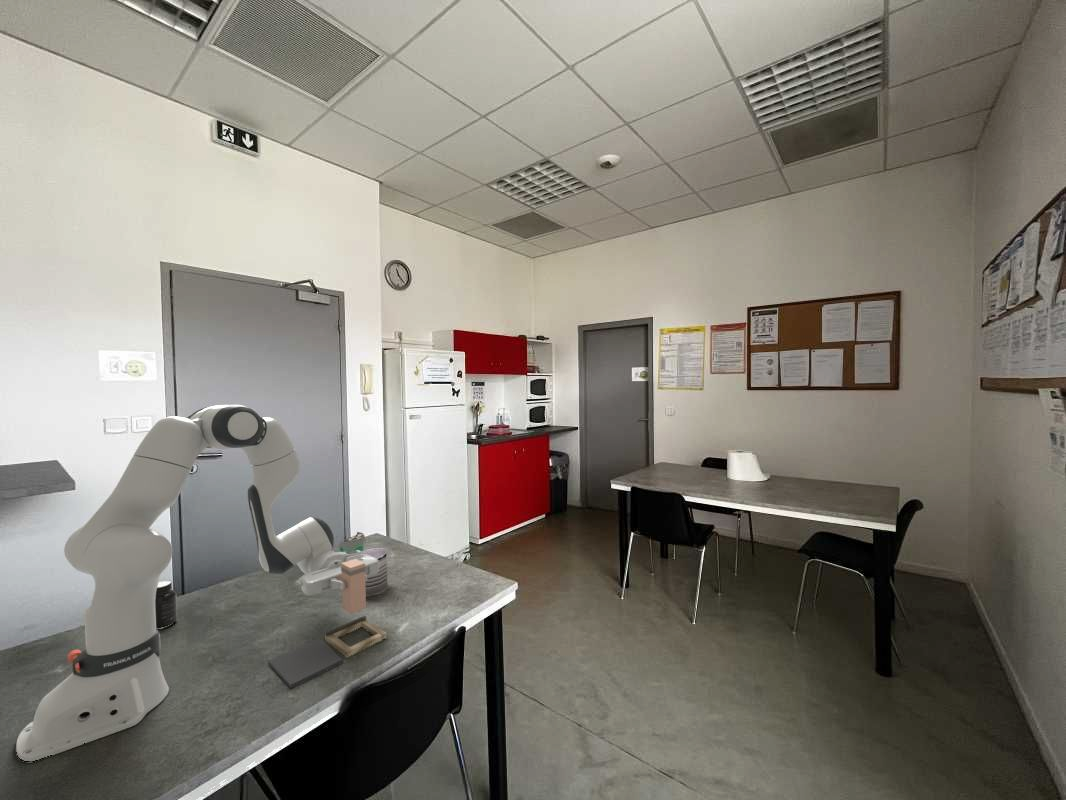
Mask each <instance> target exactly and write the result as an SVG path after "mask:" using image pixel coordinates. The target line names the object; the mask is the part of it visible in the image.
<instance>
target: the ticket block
mask: <svg viewBox="0 0 1066 800" xmlns="http://www.w3.org/2000/svg"><path fill="white" fill-rule="evenodd" d="M341 573H342V581H343V580H345V581H347V582H348V585H347V586H348V588H346V589H343V590H341V601H342V602H341V604H342V606H341V607H342V609H343V610H345V611H346V612H348V613H349V614H355V613H357V612H360V611H362V610H364V609H367V601H366V600H367V598H366V597H367V596H366V587H365V563H363V562H361V561H359V560H357V559H353V560H350V561H347V562H344V563H341Z"/></svg>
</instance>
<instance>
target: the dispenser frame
mask: <svg viewBox="0 0 1066 800" xmlns="http://www.w3.org/2000/svg"><path fill="white" fill-rule="evenodd" d="M360 627H363V628H365V629H366V630H368V631H369V632H371V633H372V634H374V635H372V634H371V633H370V634H371V635H372V636H370V637H368V638H366V639H364V640H361V641H359V642H358V643H355V644H353V645H351V646H349V645H348V644H346V643H345V642H344V641H342V640H341V639H340V638H341V637H343V636H342V635H344V636H345V634H346V633H348V634H350V633H352V632H351V631H353V630H355V631H357V630H359V629H361V628H360ZM358 628H359V629H358ZM363 628H362V629H363ZM356 629H357V630H356ZM365 629H364V630H365ZM366 630H365V631H366ZM368 631H367V632H368ZM349 632H350V633H349ZM353 632H354V631H353ZM369 632H368V633H369ZM346 635H347V634H346ZM387 635H388V634H387V632H386V631H385V630H383V629H381V628H380V627H378V626H376V625H375V624H374V623H372V622H371V621H369V620H367V616H366V615H363V616H360V617H358V618H356V619H354V620H351V621H348V622H346V623H344V624H341V625H339V626H338V627H335V628H332V629H330V630H328V631H325V634H324V639H325V640H326V641H325V642H327V644H328V645H330V644H331V645H332V647H333V648H334V649H335V650H336V649H337V650H336V651H338V652H339V653H340V652H341V653H342V654H341V653H340V654H341V655H342V656H344V657H345V656H346V657H348V658H349V656H350V657H352V656H354V655H356V654H358V653H360V652H362V651H364V650H366V649H368V648H370V647H372V646H374V645H375V644H374V643H376V642H378V641H380V640H382V639H384V638H385V637H387V638H388V636H387ZM340 636H341V637H340ZM338 637H339V638H338ZM373 644H374V645H373ZM331 645H330V646H331ZM371 645H372V646H371ZM369 646H370V647H369ZM367 647H368V648H367ZM365 648H366V649H365ZM363 649H364V650H363ZM361 650H362V651H361ZM359 651H360V652H359ZM357 652H358V653H357ZM355 653H356V654H355ZM353 654H354V655H353ZM351 655H352V656H351ZM346 657H345V658H346Z"/></svg>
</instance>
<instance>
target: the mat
mask: <svg viewBox="0 0 1066 800" xmlns="http://www.w3.org/2000/svg"><path fill="white" fill-rule="evenodd" d="M343 660H344V659H343V658H342V657H341V656H340V655H338V654H337V653H336V652H335V651H334V650H332V649H331V648H330V647H329V646H328V645H326V644H325V643H323V641H321V640H320V639H319V638H316V639H314V640H312V641H310V642H308V643H305V644H302V645H301V646H298V647H295V648H293V649H291V650H289V651H287V652H284V653H282V654H279V655H278V656H275V657H272V658H270V659H268V660H267V664H268V666H269V667H271V669H273V671H274V672H275V673H276V675H278V676H279V677H280V679H282V681H284V683H285V684H286V685H287V686H288V687H289V688H290V689H292V688H294V687H297V686H298V685H300V684H303V683H304V682H307V681H309V680H310V679H312V678H315V677H317V676H318V674H319V675H320V673H321V674H323V673H324V671H325V672H326V670H327V669H329V668H331V669H332V667H333V668H335V667H337V666H339V665H340V663H341V664H342V662H343V663H344V661H343ZM338 664H339V665H338ZM336 665H337V666H336ZM334 666H335V667H334ZM329 670H330V669H329ZM327 671H328V670H327ZM322 672H323V673H322ZM314 676H315V677H314Z"/></svg>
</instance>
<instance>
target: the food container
mask: <svg viewBox="0 0 1066 800" xmlns="http://www.w3.org/2000/svg"><path fill="white" fill-rule="evenodd" d="M338 542H339V543H338V549H339V552H348V551H356V550H360V551H361V552H362V551H364V544H365V542H366V536H365V534H364V533H363V532H362V531H361V532H360V531H357V532H356V534H355V535H353V536H350V537H348V538H346V540H344V541H338Z"/></svg>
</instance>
